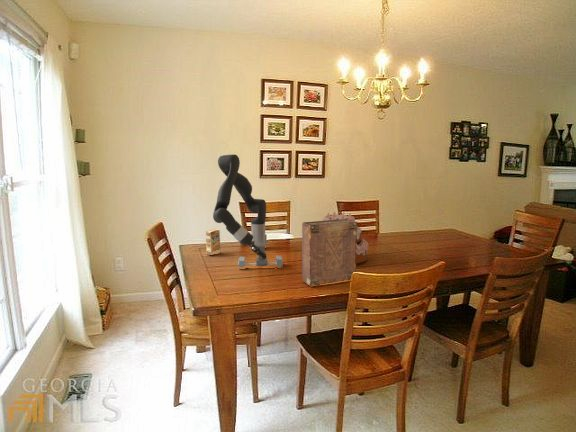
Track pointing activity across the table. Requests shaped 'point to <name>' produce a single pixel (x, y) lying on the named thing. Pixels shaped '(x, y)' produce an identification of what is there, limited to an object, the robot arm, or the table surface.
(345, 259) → the book
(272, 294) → the table surface
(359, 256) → the cake
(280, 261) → the rail
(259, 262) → the block
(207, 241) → the candy box
